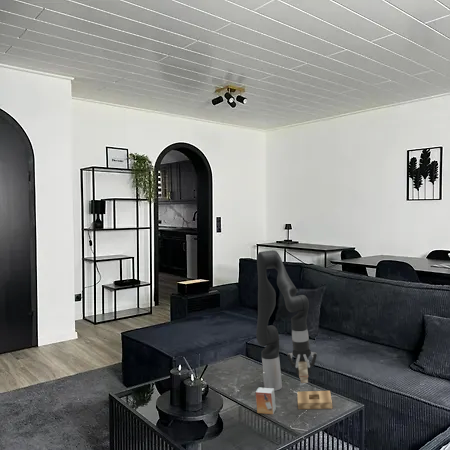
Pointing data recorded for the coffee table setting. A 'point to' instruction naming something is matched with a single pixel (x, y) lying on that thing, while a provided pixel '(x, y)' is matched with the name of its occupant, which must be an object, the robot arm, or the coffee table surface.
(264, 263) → the robot arm
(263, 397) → the small box
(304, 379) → the ash peg
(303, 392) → the oak board
